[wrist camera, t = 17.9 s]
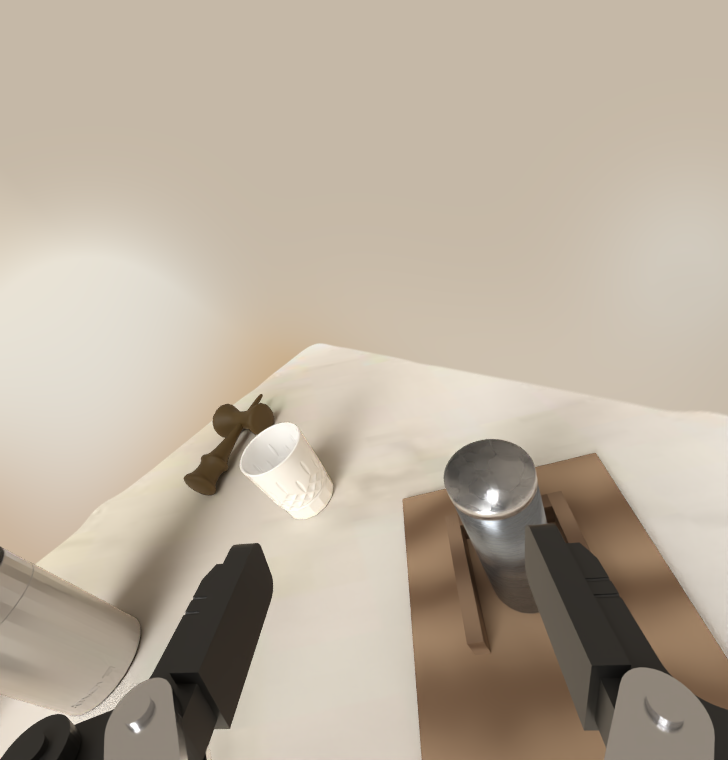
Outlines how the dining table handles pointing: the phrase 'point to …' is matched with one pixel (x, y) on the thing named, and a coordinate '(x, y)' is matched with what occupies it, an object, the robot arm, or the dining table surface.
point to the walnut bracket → (534, 626)
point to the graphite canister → (498, 512)
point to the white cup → (287, 470)
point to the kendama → (227, 442)
